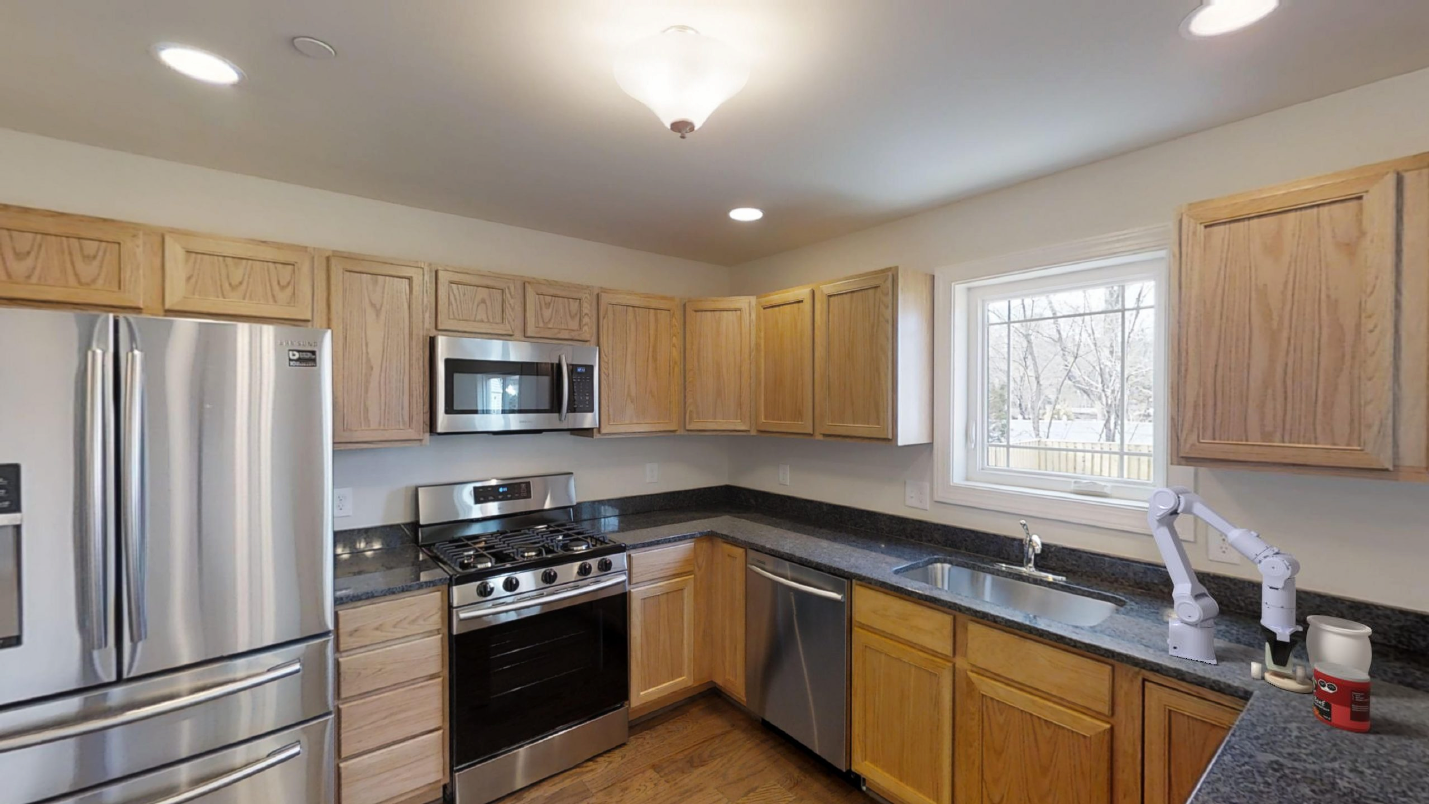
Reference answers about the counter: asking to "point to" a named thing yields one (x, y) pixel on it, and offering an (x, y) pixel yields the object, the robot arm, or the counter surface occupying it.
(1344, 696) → the canned food
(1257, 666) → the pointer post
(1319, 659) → the jar
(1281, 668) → the link block
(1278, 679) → the disc
